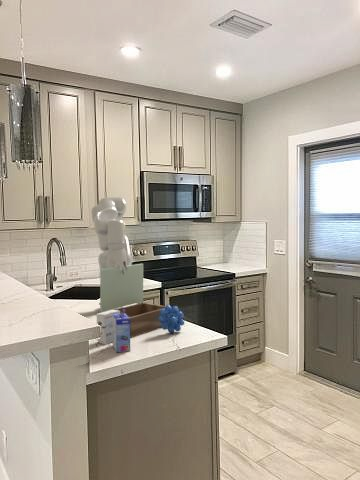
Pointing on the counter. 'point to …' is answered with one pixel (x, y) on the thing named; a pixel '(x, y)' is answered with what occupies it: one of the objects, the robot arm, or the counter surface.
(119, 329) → the ink cartridge box
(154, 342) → the counter surface
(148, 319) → the storage box
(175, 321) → the grapes
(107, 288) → the lid
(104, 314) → the ink box
